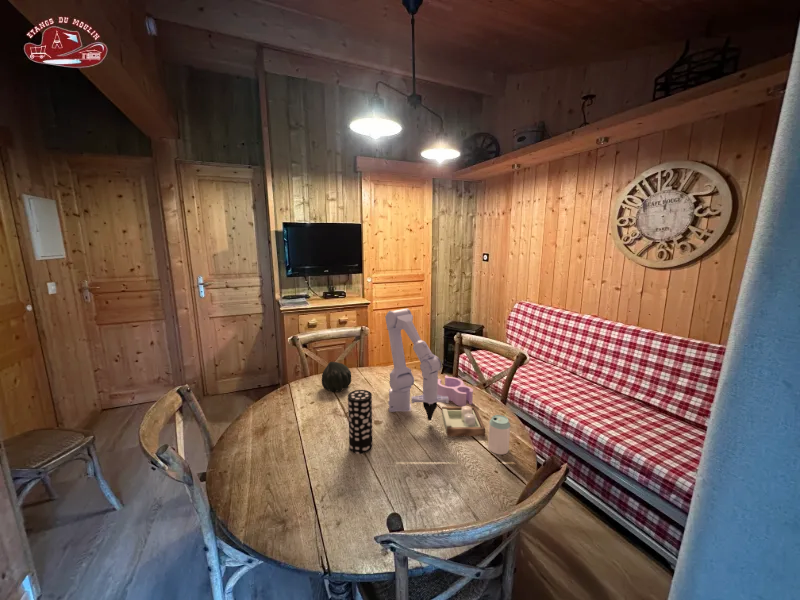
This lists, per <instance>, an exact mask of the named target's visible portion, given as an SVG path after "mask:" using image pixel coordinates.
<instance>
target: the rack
mask: <svg viewBox="0 0 800 600" xmlns="http://www.w3.org/2000/svg"><path fill="white" fill-rule="evenodd" d="M470 407H471V408H472V410H473V411H474V413H475V415H476V418H477V420H478V422H479V425H480V427H447V433H446V435H447V437H486V426H485V425H484V423H483V420H482V418H481V417H480V414H479V412H478V409H477V407H476V406H470ZM442 409H447V410H462V406H441V410H442Z"/></svg>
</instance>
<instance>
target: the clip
mask: <svg viewBox="0 0 800 600" xmlns="http://www.w3.org/2000/svg"><path fill="white" fill-rule="evenodd" d="M464 383H465V382H464V381H463V380H462V379H461V378H458V377H454V376H449V375H445V376H444V384H442V379H440V378H438V388H437V395H439V396H447V397H448V399H449V401H450V402H453V403H454V404H455V405H457V407H463V406H467V401H468V404H469V405H473V401H474V398H473V397H474V389H473V388H472V387H470V386H468V385H466V384H464ZM449 401H448V402H449Z"/></svg>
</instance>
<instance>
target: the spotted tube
mask: <svg viewBox="0 0 800 600" xmlns="http://www.w3.org/2000/svg"><path fill="white" fill-rule="evenodd" d="M372 398H373V394H372V392H371V391H369V390H366V389H357V390H353V391H351V392H349V393H348V394H347V409H348V414H347V416H348V445H349V450H350V451H351V453H354V454H357V455H362V454H367V453H368V452H371V450H372V449H373V399H372Z"/></svg>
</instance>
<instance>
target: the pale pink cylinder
mask: <svg viewBox="0 0 800 600" xmlns="http://www.w3.org/2000/svg"><path fill="white" fill-rule="evenodd" d="M461 407H462V406H461ZM471 407H472V406H470V405H466V406H463V407H462V411H461V420H462V421H463V422H464V415H465V414H468V413H470V414H472V408H471Z"/></svg>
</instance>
